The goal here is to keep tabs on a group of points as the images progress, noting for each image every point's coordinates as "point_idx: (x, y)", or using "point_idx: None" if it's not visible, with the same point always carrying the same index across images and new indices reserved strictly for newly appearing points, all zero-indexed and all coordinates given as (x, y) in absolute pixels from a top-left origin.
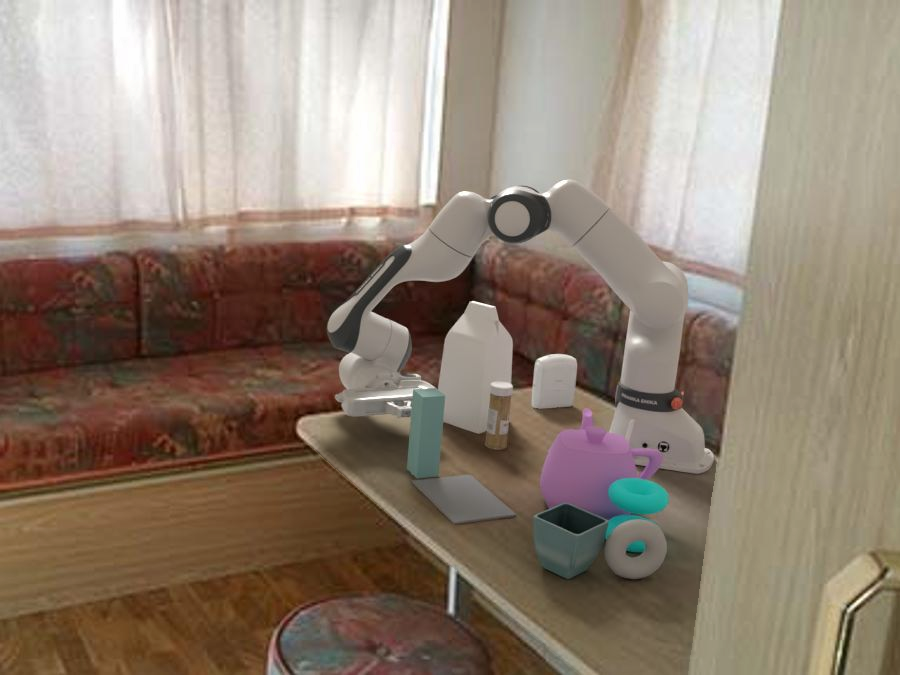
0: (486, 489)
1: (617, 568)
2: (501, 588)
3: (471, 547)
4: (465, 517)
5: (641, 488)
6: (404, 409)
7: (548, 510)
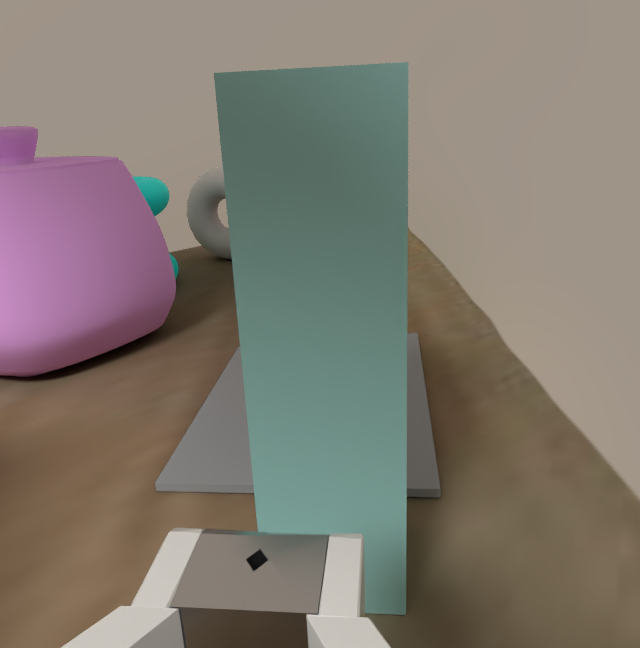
0: (205, 405)
1: None
2: (430, 261)
3: (422, 301)
4: None
5: None
6: (286, 535)
7: None
